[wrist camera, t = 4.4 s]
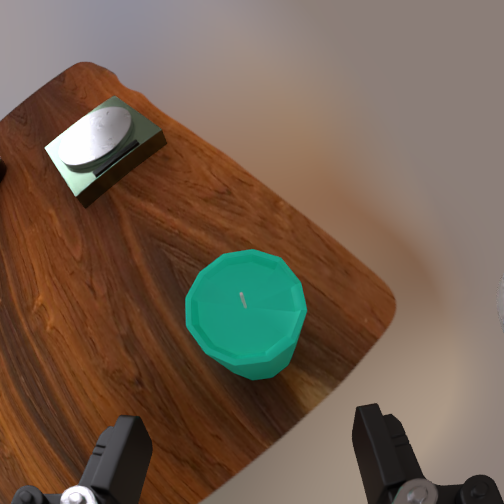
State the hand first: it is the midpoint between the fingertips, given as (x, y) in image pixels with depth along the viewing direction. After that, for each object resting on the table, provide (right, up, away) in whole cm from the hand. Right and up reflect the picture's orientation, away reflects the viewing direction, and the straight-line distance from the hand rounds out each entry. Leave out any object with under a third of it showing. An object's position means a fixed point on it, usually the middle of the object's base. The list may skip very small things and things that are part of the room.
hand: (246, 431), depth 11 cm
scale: (-18, +19, +26) cm, 37 cm away
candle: (+1, -1, +14) cm, 15 cm away
